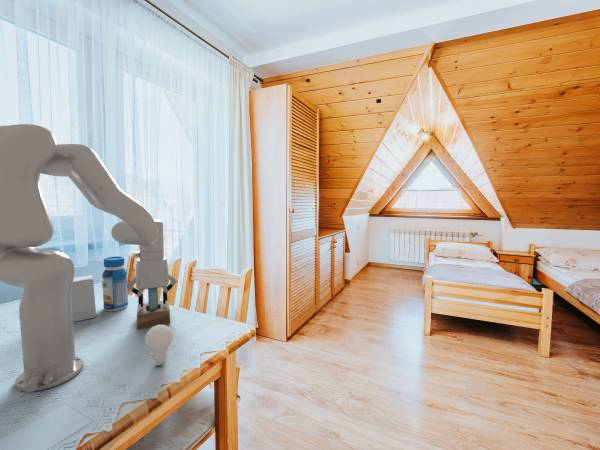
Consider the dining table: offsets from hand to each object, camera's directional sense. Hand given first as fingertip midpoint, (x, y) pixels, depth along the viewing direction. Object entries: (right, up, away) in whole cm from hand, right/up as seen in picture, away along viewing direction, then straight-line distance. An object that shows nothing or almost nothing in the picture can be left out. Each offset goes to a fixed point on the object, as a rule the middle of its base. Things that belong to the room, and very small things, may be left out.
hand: (153, 303), depth 101 cm
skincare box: (-27, -6, +1) cm, 27 cm away
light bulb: (+15, -10, -25) cm, 31 cm away
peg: (0, -6, +1) cm, 6 cm away
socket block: (0, -6, +1) cm, 6 cm away
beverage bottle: (-21, -5, +11) cm, 24 cm away
